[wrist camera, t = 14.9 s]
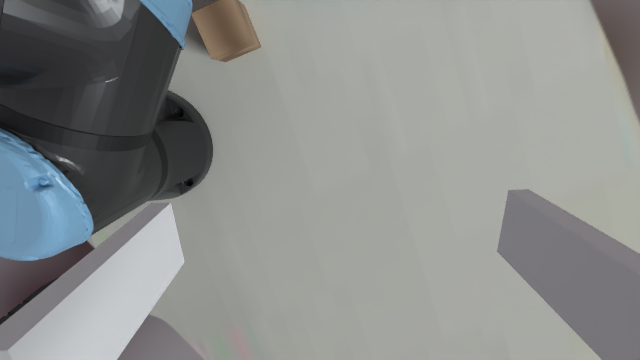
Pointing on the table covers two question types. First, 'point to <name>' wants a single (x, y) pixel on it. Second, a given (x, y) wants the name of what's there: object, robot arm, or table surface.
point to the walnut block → (226, 29)
